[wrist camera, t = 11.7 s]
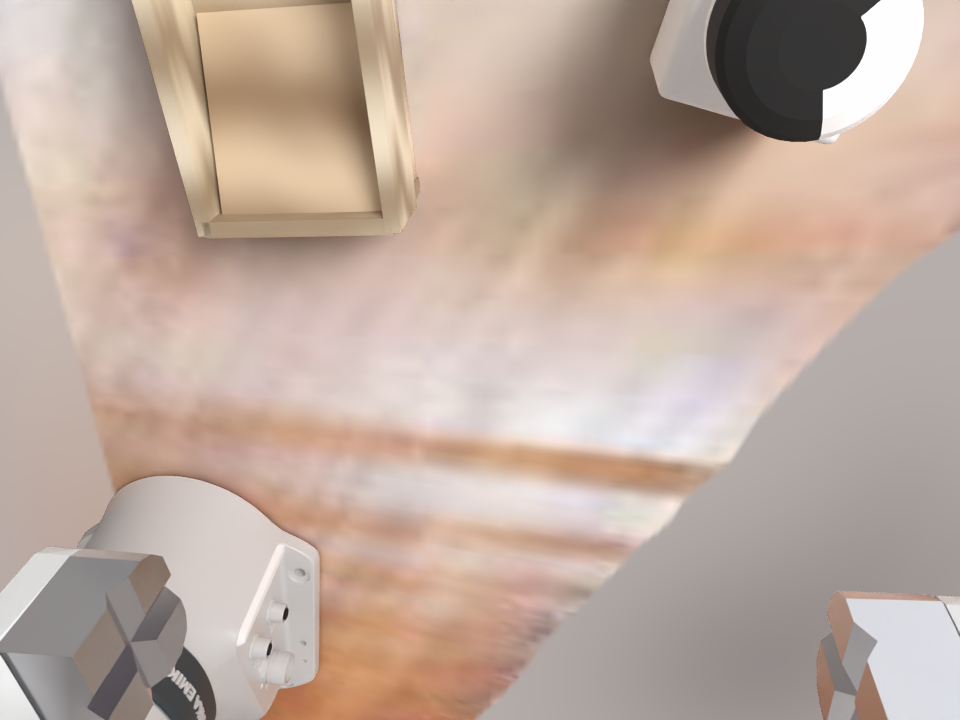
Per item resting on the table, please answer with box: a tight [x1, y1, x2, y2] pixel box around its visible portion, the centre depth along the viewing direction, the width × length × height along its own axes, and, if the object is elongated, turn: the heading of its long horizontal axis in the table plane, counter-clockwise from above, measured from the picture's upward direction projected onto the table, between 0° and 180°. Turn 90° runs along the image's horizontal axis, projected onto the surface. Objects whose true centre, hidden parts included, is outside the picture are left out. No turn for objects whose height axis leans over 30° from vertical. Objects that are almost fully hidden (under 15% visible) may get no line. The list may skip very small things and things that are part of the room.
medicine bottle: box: [650, 0, 923, 144], centre depth 28 cm, size 7×7×12 cm
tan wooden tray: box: [132, 0, 420, 238], centre depth 33 cm, size 16×10×6 cm, turn 4°
